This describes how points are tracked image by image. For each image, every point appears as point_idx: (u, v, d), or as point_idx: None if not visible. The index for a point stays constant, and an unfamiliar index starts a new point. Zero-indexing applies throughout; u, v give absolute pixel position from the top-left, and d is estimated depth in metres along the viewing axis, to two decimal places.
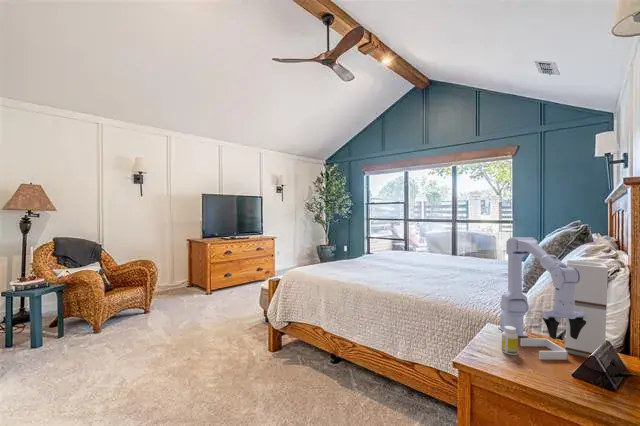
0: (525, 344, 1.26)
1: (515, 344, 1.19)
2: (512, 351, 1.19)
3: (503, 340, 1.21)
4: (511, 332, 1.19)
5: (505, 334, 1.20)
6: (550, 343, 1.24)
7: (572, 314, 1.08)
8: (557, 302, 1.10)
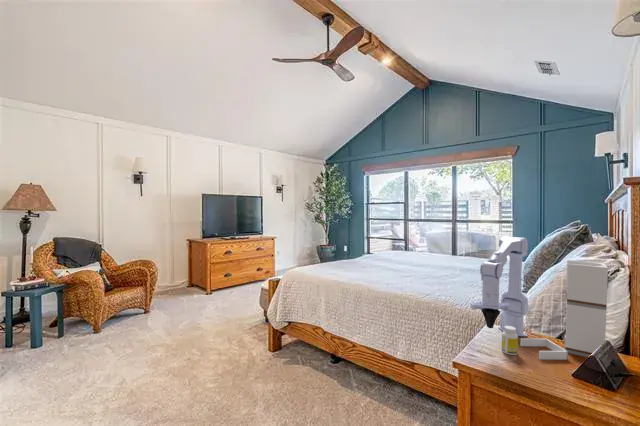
0: (525, 344, 1.26)
1: (515, 344, 1.19)
2: (512, 351, 1.19)
3: (503, 340, 1.21)
4: (511, 332, 1.19)
5: (505, 334, 1.20)
6: (550, 343, 1.24)
7: (496, 305, 1.18)
8: (483, 294, 1.20)
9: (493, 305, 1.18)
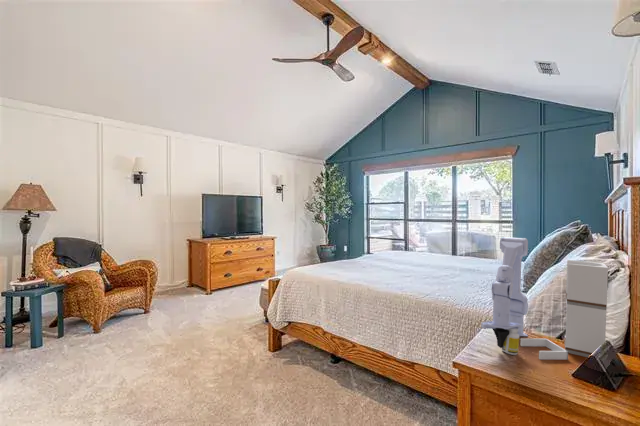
0: (525, 344, 1.26)
1: (516, 344, 1.19)
2: (513, 350, 1.19)
3: None
4: (513, 332, 1.19)
5: None
6: (550, 343, 1.24)
7: (507, 325, 1.18)
8: (494, 314, 1.20)
9: (504, 325, 1.18)
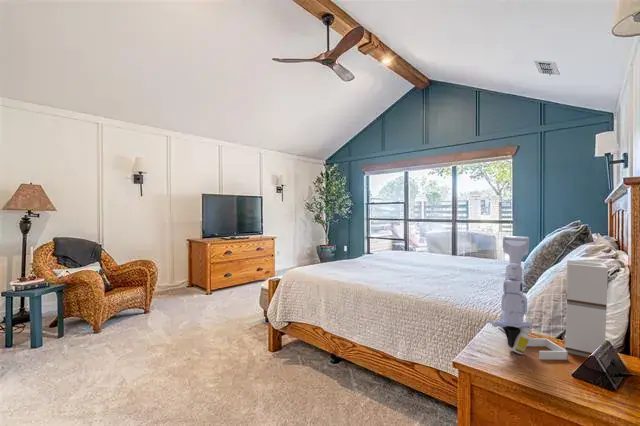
0: None
1: (525, 344, 1.18)
2: (521, 349, 1.18)
3: None
4: (525, 332, 1.19)
5: None
6: (550, 343, 1.24)
7: (518, 323, 1.18)
8: (505, 312, 1.20)
9: (515, 323, 1.17)
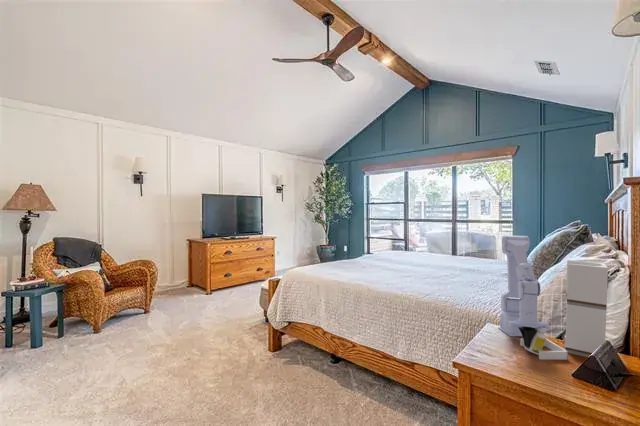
0: None
1: (542, 344, 1.18)
2: (537, 350, 1.18)
3: None
4: (541, 332, 1.19)
5: None
6: (550, 343, 1.24)
7: (534, 323, 1.17)
8: (521, 312, 1.20)
9: (532, 324, 1.17)
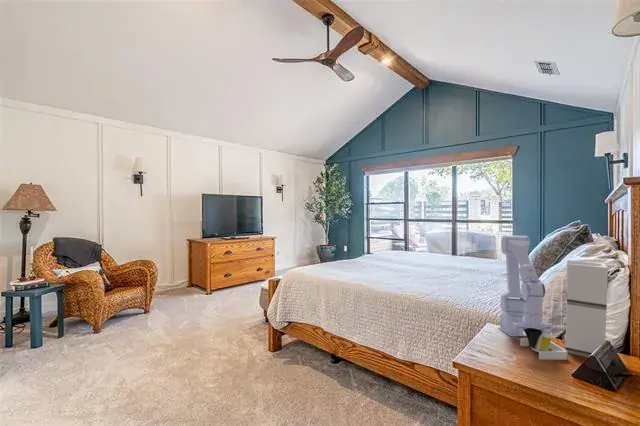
0: (525, 344, 1.26)
1: (548, 344, 1.18)
2: (544, 349, 1.18)
3: None
4: (546, 331, 1.19)
5: None
6: (550, 343, 1.24)
7: (539, 325, 1.18)
8: (526, 314, 1.20)
9: (536, 325, 1.18)
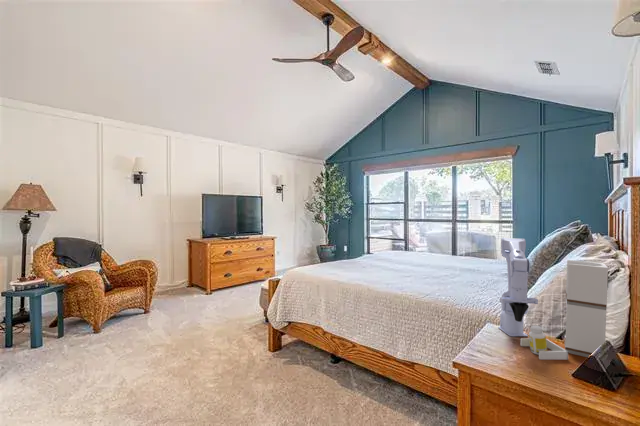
0: (525, 344, 1.26)
1: (543, 344, 1.18)
2: (541, 350, 1.18)
3: (531, 340, 1.21)
4: (538, 332, 1.19)
5: (532, 334, 1.20)
6: (550, 343, 1.24)
7: (525, 299, 1.24)
8: (512, 289, 1.26)
9: (522, 299, 1.23)
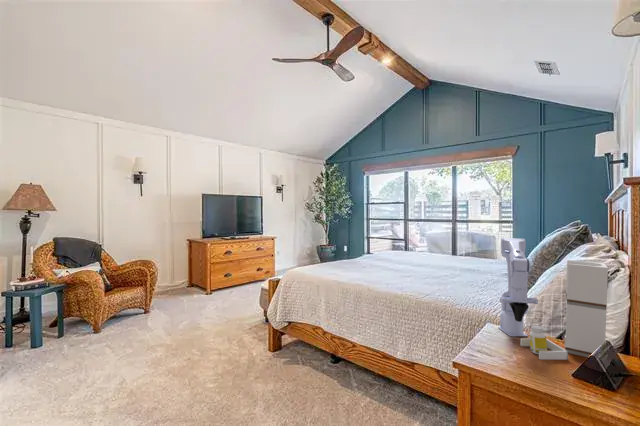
0: (525, 344, 1.26)
1: (543, 343, 1.18)
2: (540, 350, 1.18)
3: (530, 340, 1.21)
4: (538, 331, 1.20)
5: (532, 333, 1.21)
6: (550, 343, 1.24)
7: (525, 299, 1.24)
8: (512, 289, 1.26)
9: (522, 299, 1.23)
